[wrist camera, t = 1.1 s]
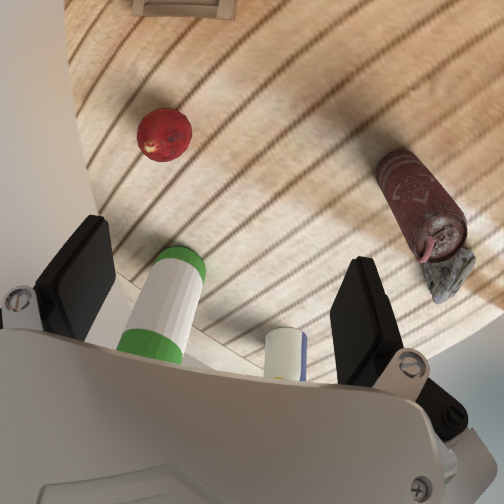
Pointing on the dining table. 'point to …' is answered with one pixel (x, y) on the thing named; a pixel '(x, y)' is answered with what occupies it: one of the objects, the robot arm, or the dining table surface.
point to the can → (421, 208)
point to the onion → (164, 134)
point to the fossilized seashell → (448, 275)
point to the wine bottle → (165, 307)
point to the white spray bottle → (285, 354)
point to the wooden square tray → (186, 8)
